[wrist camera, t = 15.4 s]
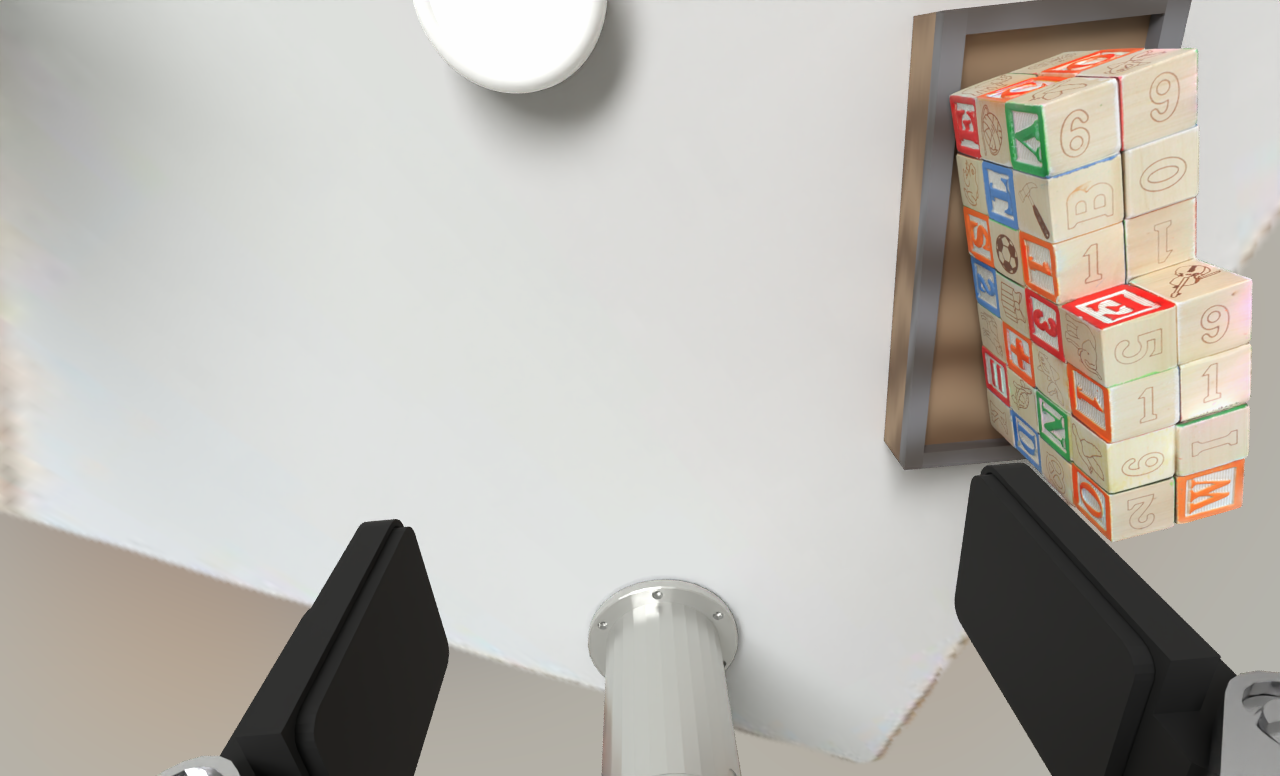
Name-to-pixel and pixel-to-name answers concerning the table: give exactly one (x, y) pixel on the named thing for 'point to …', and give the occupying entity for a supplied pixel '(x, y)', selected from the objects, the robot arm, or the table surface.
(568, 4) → the coaster
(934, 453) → the wooden tray
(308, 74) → the table surface
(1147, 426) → the stack of blocks
